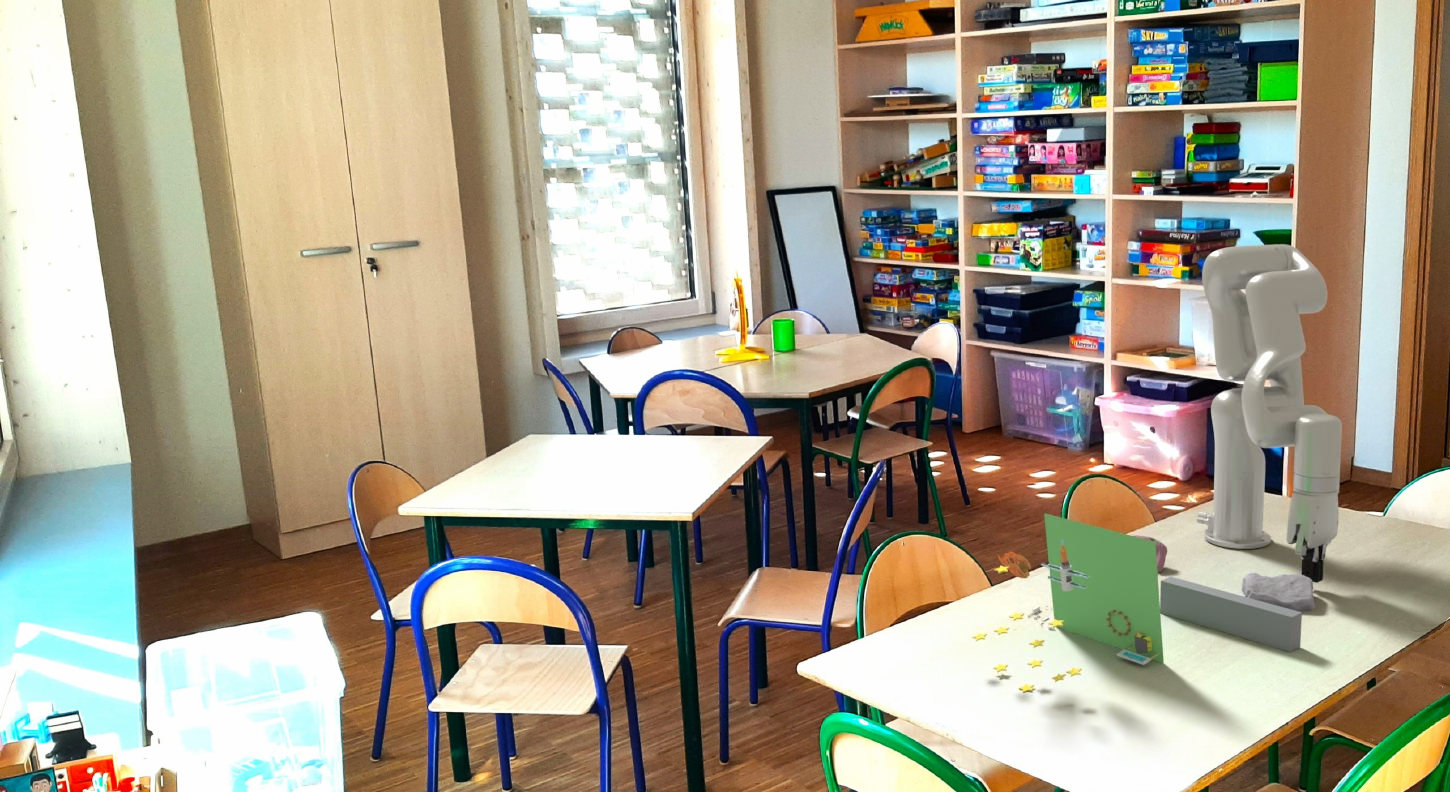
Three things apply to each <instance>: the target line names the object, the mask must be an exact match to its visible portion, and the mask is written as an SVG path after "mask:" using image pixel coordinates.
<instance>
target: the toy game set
mask: <svg viewBox="0 0 1450 792" xmlns="http://www.w3.org/2000/svg"><path fill="white" fill-rule="evenodd" d="M1043 517H1044V524H1045V527H1044V528H1045V536H1046V538H1045V539H1046V544H1047V545H1046V546H1047V547H1046V548H1047V557H1048V563H1044V562H1041V563H1040V566H1042V567H1045V568H1047V569H1049V570H1048V571H1049V575H1048V576H1047V579H1048V580H1050V590H1051V599H1052V609H1053V621H1050V622H1048V623H1047V624H1048V625H1049V626H1052V629H1053V628H1060V629H1062V630H1064V631H1069V632H1070V633H1074V634H1077V635H1080V636H1083V637H1085V638H1088V639H1091V640H1094V641H1097V642H1100V643H1102V644H1103V643H1104V644H1106V645H1109V646H1112V647H1115V648H1118V649H1120V651H1119V652H1118V653H1116V656H1117V657H1120V658H1122V659H1125V660H1128V661H1131V662H1134V663H1136V664H1139V665H1141V666H1142V665H1143V666H1145V665H1146V664H1148V663H1149V662H1150V661H1155V662H1158V663H1161V664H1164V663H1165V662H1164V659H1165V658H1164V648H1163V634H1162V619H1161V618H1162V616H1161V613H1160V589H1159V575H1158V574H1159V573H1158V572H1157V558H1156V543H1155V542H1154V541H1150V540H1146V539H1142V538H1138V537H1135V535H1130V534H1126V533H1123V532H1122V533H1121V532H1119V531H1114V530H1110V529H1107V528H1103V527H1098V526H1095V525H1092V524H1089V523H1088V524H1087V523H1084V522H1079V521H1076V520H1072V519H1068V518H1065V517H1060V516H1056V515H1052V514H1049V513H1044V515H1043ZM997 557H998V560H999V561H1000V563H1001V564H1002V565H1000V566H999V567H997V568H994V569H993V570H994V571H995V572H997V573H998V574H1001V573H1004V572H1005V573H1008V572H1010V573H1012V575H1014V576H1015V577H1017V578H1020V579H1027V578H1029V577H1030V575H1031V574H1030V572H1029V570H1031V569H1032V565H1031V563H1030V562H1029V560H1028V559H1027V558H1026V557H1025V556H1024V555H1021V554H1017V553H1016V552H1014V551H1012V550H1010V551H1008V552H1006V553H1004V554H1003V555H1002V556H1000V555H999V554H998V555H997ZM1010 559H1012V560H1013V562H1012V561H1011V560H1010ZM1024 615H1025V613H1018V612H1015V613H1014V614H1012V615H1009V616H1008V618H1009V619H1010V618H1011V619H1013V620H1012V621H1013V622H1014V621H1017V620H1023V619H1024V618H1023V617H1024ZM1008 630H1010V627H1002V626H1000V627H999V628H998V629H995V630H993V633H998V636H1000V635H1002V634H1008ZM987 635H988V633H983V634H982V633H980V632H978V634H977V635H974V636H972V639H975V641H976V642H977V641H980V640H986V637H987ZM1044 642H1045V639H1042V640H1038V639H1037V638H1036V639H1035V640H1034V641H1032V642H1028V645H1030V646H1033V649H1035V648H1037V647H1044V644H1043V643H1044ZM1043 662H1044V660H1036V659H1033V660H1032V662H1027V665H1028V666H1031V669H1034V668H1036V667H1042V663H1043ZM1008 667H1009V664H1004V665H1003V664H1001V663H999V664H998V665H997V666H994V667H993V668H992V669H993V670H996V671H997V674H998V673H999V672H1002V671H1003V672H1004V671H1005V672H1007V668H1008ZM1082 670H1083V669H1082V668H1075V667H1072V668H1071V670H1067V671H1065V673H1064V674H1060V673H1058V674H1057V675H1056V676H1053V677H1052V678H1051V679H1052V680H1054V682H1055V683H1057V682H1058V681H1064V680H1065V679H1064V678H1065V677H1066V676H1067V675H1066V674H1069V675H1070V677H1074V676H1076V675H1078V676H1081V671H1082ZM1033 687H1035V684H1027V683H1024V685H1023V686H1021V687H1020V686H1019V687H1018V690H1022V693H1023V694H1024V693H1026V692H1033Z"/></svg>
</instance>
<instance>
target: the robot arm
mask: <svg viewBox="0 0 1450 792" xmlns="http://www.w3.org/2000/svg"><path fill="white" fill-rule="evenodd" d="M1201 275H1202V276H1201V277H1202V278H1201V279H1202V280H1201V281H1202V287H1203V291H1204V294H1205V296H1206V297H1205V298H1206V299H1207V302H1208V305H1209V309H1210V312H1211V317H1212V330H1213V331H1212V333H1213V334H1212V335H1213V345H1214V347H1213V348H1214V359H1215V360H1214V361H1215V366H1216V371H1217V374H1218V376H1219V377H1220V378H1221V379H1222V380H1224V381H1228V382H1243V385H1242V387H1239V388H1231V389H1228V390H1223V391H1221V392H1220V393H1218V394H1217V395H1216V396H1215V397H1214V398H1213V400H1212V402H1211V406H1210V414H1211V420H1212V421H1211V422H1212V427H1213V436H1214V478H1213V481H1214V482H1213V504H1212V505H1213V509H1212V514H1211V513H1209V512H1207V511H1199V512H1198V514H1197V517H1196V522H1197V524H1201V525H1206V526H1207V529H1206V530H1205V531H1204V534H1203V535H1204V539H1205V540H1206V541H1207V542H1208V543H1210V544H1212V545H1215V546H1218V547H1223V548H1229V549H1237V550H1238V549H1239V550H1251V549H1258V548H1264V547H1266V546H1268V545H1270V543H1271V538H1272V537H1271V534H1269V533H1268V532H1267V531H1265V530H1264V512H1265V511H1264V507H1265V487H1266V486H1265V481H1266V457H1265V453H1264V451H1263V449H1275V448H1289V447H1294V456H1293V457H1294V458H1293V459H1294V460H1293V479H1292V490H1293V491H1292V495H1291V498H1290V503H1289V508H1288V509H1289V510H1288V516H1287V524H1286V526H1287V527H1286V543H1287V544H1289V545H1294V544H1295V549H1294V554H1295V555H1299V556H1300V559H1301V574H1300V575H1304V576H1306V577H1308V578H1310V579H1311V580H1312V581H1313V583H1316V584H1317V583H1319V582H1322V581H1323V580H1324V561H1325V558H1326V554H1327V553H1326V552H1327V547H1328V546H1329V545H1330V544H1331V543H1332V540H1334V539H1336V537H1337V536H1338V530H1339V497H1338V495H1339V493H1340V479H1341V478H1340V477H1341V455H1342V439H1343V437H1342V435H1343V433H1342V432H1343V423H1342V421H1341V419H1340V418H1339V417H1338V416H1335V415H1333V414H1328V413H1327V412H1326V411H1325V410H1324V409H1323V408H1321V407H1320V406H1319V405H1318V406H1317V405H1315V404H1313V405H1312V404H1310V405H1309V404H1305V401H1304V400H1305V399H1304V386H1303V374H1302V373H1303V371H1302V369H1303V368H1302V359H1301V358H1302V357H1301V356H1302V355H1303V354H1304V353H1305V352H1306V349H1307V346H1306V345H1307V344H1306V340H1305V336H1304V331H1303V326H1302V323H1301V317H1300V315H1305V314H1307V315H1308V314H1316V313H1319V312H1321V311H1322V310H1323V309H1324V308H1325V307H1326V304H1327V301H1328V295H1329V294H1328V288H1327V284H1326V281H1325V279H1324V277H1323V275H1322V273H1321V272H1320V271H1319V269H1318V268H1317V267H1316V266H1315V265H1314V264H1313V263H1312V262H1311V261H1310V260H1309V259H1308V258H1307V257H1306V256H1305V255H1304V254H1303V253H1302V252H1301V251H1299V249H1297V248H1296V247H1294V246H1292V245H1290V244H1285V243H1283V244H1282V243H1280V244H1277V243H1276V244H1261V245H1257V244H1256V245H1239V246H1238V245H1236V246H1229V247H1223V248H1220V249H1217V250H1215V251H1212V252H1211V253H1210V254H1208V256H1207V257H1206V259H1205V260H1204V263H1203V267H1202V272H1201ZM1244 289H1245V290H1244ZM1242 290H1244V291H1245V292H1244V291H1242ZM1266 381H1268V382H1269V384H1270V385H1269V386H1265V383H1266ZM1262 448H1263V449H1262Z"/></svg>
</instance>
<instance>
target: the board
mask: <svg viewBox="0 0 1450 792" xmlns="http://www.w3.org/2000/svg"><path fill="white" fill-rule="evenodd" d="M1159 601H1160V614H1161V615H1162V614H1163V615H1165V616H1168V617H1173V618H1175V619H1180V620H1182V621H1185V622H1186V621H1187V622H1189V623H1193V624H1196V625H1200V626H1202V627H1206V628H1209V629H1212V630H1216V631H1219V632H1222V633H1225V634H1228V635H1233V636H1235V637H1239V638H1242V639H1245V640H1249V641H1252V642H1256V643H1259V644H1262V645H1266V646H1269V647H1272V648H1275V649H1278V650H1282V651H1285V652H1289V653H1292V652H1294V651H1296V650H1298V649H1299V648H1301V642H1302V641H1301V640H1302V639H1301V637H1302V621H1303V619H1302V618H1303V615H1302V614H1303V611H1295V610H1291V609H1288V608H1284V607H1280V606H1277V605H1273V604H1269V603H1266V602H1262V601H1258V600H1255V599H1251V598H1247V597H1245V595H1244V596H1243V595H1239V594H1237V593H1236V594H1235V593H1232V592H1229V591H1225V590H1222V589H1217V588H1214V587H1211V586H1206V585H1203V584H1199V583H1195V582H1191V581H1188V580H1185V579H1181V578H1177V577H1174V576H1168V577H1167V578H1163V579H1161V580H1160V592H1159Z"/></svg>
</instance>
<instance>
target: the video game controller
mask: <svg viewBox="0 0 1450 792" xmlns="http://www.w3.org/2000/svg"><path fill="white" fill-rule="evenodd" d="M1134 536H1135V537H1138V538H1142V539H1146V540H1150V541H1154V542H1155V543H1156V558H1157V572H1158V574H1159V573H1161V572H1162V571H1163V569H1164V567H1165V563H1166V558H1167V555H1168V547H1167V546H1166V545H1165V544H1164V543H1163V542H1161V541H1160V540H1159V539H1156V538H1153V537H1150V536H1145V535H1139V534H1138V535H1134Z"/></svg>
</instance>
